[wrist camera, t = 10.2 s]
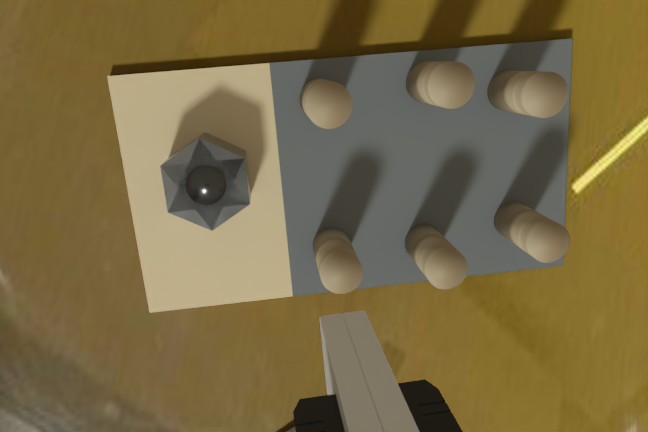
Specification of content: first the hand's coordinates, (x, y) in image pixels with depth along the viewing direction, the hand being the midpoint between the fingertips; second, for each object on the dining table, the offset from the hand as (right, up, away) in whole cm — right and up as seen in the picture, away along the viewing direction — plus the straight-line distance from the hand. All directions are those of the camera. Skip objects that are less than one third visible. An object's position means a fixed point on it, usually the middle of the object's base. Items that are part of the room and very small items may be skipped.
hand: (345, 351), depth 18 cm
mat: (+1, +7, +20) cm, 21 cm away
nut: (-8, +7, +18) cm, 21 cm away
